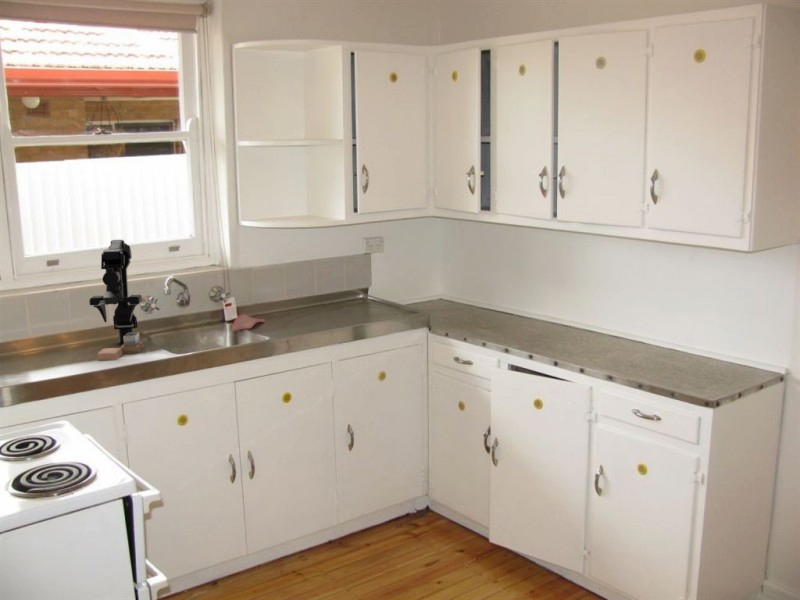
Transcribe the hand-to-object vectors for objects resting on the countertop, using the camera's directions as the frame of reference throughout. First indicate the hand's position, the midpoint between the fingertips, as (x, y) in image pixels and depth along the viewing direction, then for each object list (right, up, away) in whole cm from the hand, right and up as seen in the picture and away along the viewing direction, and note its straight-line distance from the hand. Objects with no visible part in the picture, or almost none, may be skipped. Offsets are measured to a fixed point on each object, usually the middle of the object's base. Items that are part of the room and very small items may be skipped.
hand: (117, 321), depth 327 cm
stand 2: (+3, -12, +8) cm, 15 cm away
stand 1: (-2, -14, -3) cm, 14 cm away
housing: (+3, -9, +8) cm, 12 cm away
